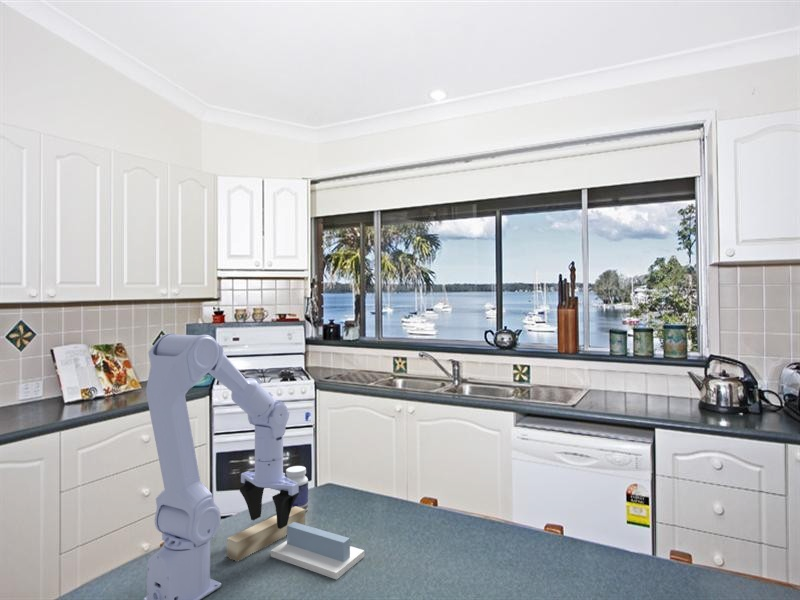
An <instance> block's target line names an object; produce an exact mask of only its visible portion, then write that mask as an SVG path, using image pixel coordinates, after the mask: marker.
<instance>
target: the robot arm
mask: <svg viewBox="0 0 800 600" xmlns="http://www.w3.org/2000/svg"><path fill="white" fill-rule="evenodd" d="M147 354H148V359H149V362H150V369H149V372H148V378H147V383H146V388H145V393H146V400H147V405H148V409H149V414H150V415H149V417H150V420H151V425H152V431H153V436H154V441H155V446H156V452H157V457H158V462H159V466H160V472H161V477H162V478H161V479H162V482H163V487H164V488H163V490H162V491H161V492H160V493H158V495H157V496H156V498H155V503H156V511H155V516H154V526H155V529H156V530H157V531H158V532H159V533H161V540H162V541H163V542H164V543H163V545H162V546H161V548H160V549H158V551H156V552H154V554H152V555H151V556H150V557H149V558H148V560H147V564H146V596H144V598H143V600H202V599H204V598H205V597H207V596H208V595H210V594H211V593H213V592H215V591H216V590H218V589H220V588H221V587H222V583H221V582H220V581H217V580H215V579H213V578H211V540H213V539H214V536H215V534H216V533H217V531H218V529H219V526H220V524H221V517H222V515H221V510H220V508H219V506H218V505H217V504H216V503H215V502H214V501H215V500H214V497H213V493H212V492H211V491H210V490H209V489H208V488H207V487H206V486H205V485H204V484H203V482H202V481H201V476H200V473H199V472H200V471H199V465H198V461H197V455H196V450H195V444H194V443H195V442H194V438H193V433H192V427H191V421H190V417H189V416H190V414H189V410H188V405H187V398H186V394H187V393H188V391H189V390H190V389H192V388H193V387H194V386H195V385H196V384H198V383H199V382H200V381H201V380H202V379H203V378H204V377H205V376H206V375H207V374H209V375H211V376H212V377H213V378H214V379H215V380H217V381H218V382H219V383H221V384H222V385H223V386H225V387H226V388H227V389H228V390H229V391H230V392H231V401H232V402H233V403H234V404H236V405H237V407H239V408H240V409H241V410H242V411H243V412H245V413H246V414H247V420H248V422H249V424H250V425H253V426H254V471H249V470H247V471H244V472H242V473H240V483H242V484H243V486H241V487H239V492H240V493H241V495H242V497H243V499H244V500H245V503H246V506H247V509H248V513H249V516H250V520H251V521H255V520H257V519H259V518H261V515H262V508H263V507H262V504H263V497H264V490H265V489H266V488H267V489H271V490H275V491H279V493H277V494H275V495H273V496H272V501H273V503H274V507H275V512H276V513H275V514H276V515H277V526H278V528H279V529H281V528H283V527H285V526H287V523H288V519H289V515H290V511H291V508H292V506H293V503H294V501H295V499H296V497H297V496H298V494H299V483H296V482H293V481H292V480H290V479H288V478H287V476H286V472H284V436H285V434H286V426H287V424H288V421H289V418H290V411H289V410H288V407H287V405H286V404H285V403H284V402H283V401H281V400H275V398H274V397H273V394H272V393H271V392H268V390H266V389H265V388H264V387H263V386H262V385H261V383H262V381H261V380H260V379H259V378H253V377H245V376H244V375H243V374H242V373H241V371H239V369H238V368H237V367H236V365H234V363H232V361H231V360H230V359H229V357H228V356H227V355H226V354H225V353H224V346H223V345H222V344H220V343H218V341H217V340H216V339H215V338H214V337H213V336H211V335H209V334H199V335H195V334H177V333H166V334H164V335H161V336H160V337H159V338H158V339H157V340H156V341H155V343H154V344H153V345H152V347H151V348H150V349H149V351H148V353H147Z"/></svg>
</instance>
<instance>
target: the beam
mask: <svg viewBox="0 0 800 600" xmlns="http://www.w3.org/2000/svg"><path fill="white" fill-rule="evenodd" d="M293 522H296V523H299V524H303V525H306V512H305V509H303V508H300V507H297V506H295V507H293V508H291V511H290V515H289V519H288V523H287V526H288V525H289V524H291V523H293ZM287 526H285V527H283V528H281V529H279V528H278V526H277V514H276V515H273V516H271V517H269V518H267V519H266V520H263V521H261V522H259V523H256V524H254V525H252V526H250V527H248V528H246V529H244V530H241V531H239V532H237V533H235V534H233V535H231V536H229V537H227V538H226V558H227V557H229V558H231V559H233V560H235V561H234V562H236V561H238V560H240V561H242V560H243V559H242V558H244V557H246V556H247V557H249V556H251V555H253V554H254V552H255V553H256V551H257V552H258V550H259V551H260V549H261V548H263V547H264V548H266V547H268V546H270V545H271V543H272V544H274V543H276V542H278V541H279V539H280V540H281V539H283V538H285V537H287V536H286V535H287ZM284 536H285V537H284ZM282 537H283V538H282ZM277 540H278V541H277ZM275 541H276V542H275ZM273 542H274V543H273ZM269 544H270V545H269ZM267 545H268V546H267ZM265 546H266V547H265ZM264 548H263V549H264ZM261 550H262V549H261ZM252 553H253V554H252ZM250 554H251V555H250ZM248 555H249V556H248ZM247 557H246V558H247ZM229 558H228V559H229ZM231 559H230V560H231ZM241 559H242V560H241ZM244 559H245V558H244ZM233 560H232V561H233ZM238 562H239V561H238Z"/></svg>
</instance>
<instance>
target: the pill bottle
mask: <svg viewBox="0 0 800 600" xmlns="http://www.w3.org/2000/svg"><path fill="white" fill-rule="evenodd" d="M306 474H307V468H306V467H305V466H304V465H293V466H289V467H288V468H286V469H285V476H286V477H287V478H288V479H290V480H292V481H293V482H296V483H299V494H298V496H297V497H296V499H295V501H294V503H293V506H292V508H293V507H295V506H297V507H300V508H303V509H305V513H306V512H307V510H308V509H309V479H308V477H307V476H306Z"/></svg>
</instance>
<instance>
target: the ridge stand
mask: <svg viewBox="0 0 800 600" xmlns="http://www.w3.org/2000/svg"><path fill="white" fill-rule="evenodd" d="M365 554H366V553H365V549H362V548H358V547H355V546H351V538H350V537H347V536H344V535H340V534H337V533H334V532H329V531H327V530H323V529H320V528H316V527H312V526H310V525H306V524H305V525H303V524H299V523H296V522H293V523H291V524H289V525H288V526H287V536H286V540H285V541H284V542H282V543H280V544H278V545H277V546H275V547H274V548H272V549H271V550H270V558H274V559H277V560H280V561H282V562H285V563H288V564H291V565H293V566H294V565H295V566H297V567H300V568H303V569H305V570H308V571H311V572H313V573H317V574H319V575H321V576H324V577H325V576H326V577H328V578H331V579H334V580H338V579H339V578H340V577H341V576H342V575H345V573H347V572H348V571H349V570H350V569H352V568H353V566H355V565H356V564H357V563H359V562H360V561H361V560H362V559H363V558H365Z"/></svg>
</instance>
